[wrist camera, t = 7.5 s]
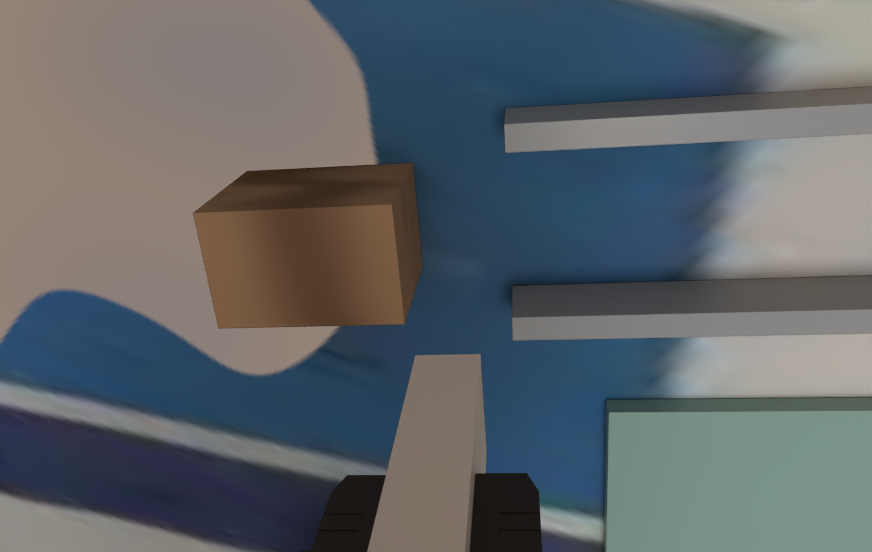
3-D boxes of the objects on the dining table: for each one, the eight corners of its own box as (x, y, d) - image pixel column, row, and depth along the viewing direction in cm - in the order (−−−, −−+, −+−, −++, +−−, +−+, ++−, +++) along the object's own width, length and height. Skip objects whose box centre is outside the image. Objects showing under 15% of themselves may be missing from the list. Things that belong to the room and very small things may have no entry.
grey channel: (513, 307, 31) (513, 347, 28) (505, 108, 28) (504, 128, 24) (1019, 294, 28) (1085, 337, 25) (1078, 74, 25) (1162, 90, 22)
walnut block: (265, 270, 32) (218, 328, 27) (247, 171, 30) (192, 213, 25) (422, 265, 31) (404, 324, 26) (413, 162, 29) (391, 204, 24)
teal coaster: (602, 597, 37) (605, 613, 36) (606, 399, 32) (609, 412, 31) (850, 603, 36) (859, 620, 35) (891, 397, 31) (903, 410, 30)
